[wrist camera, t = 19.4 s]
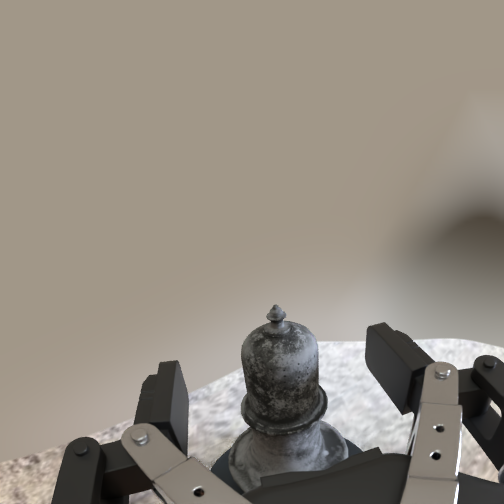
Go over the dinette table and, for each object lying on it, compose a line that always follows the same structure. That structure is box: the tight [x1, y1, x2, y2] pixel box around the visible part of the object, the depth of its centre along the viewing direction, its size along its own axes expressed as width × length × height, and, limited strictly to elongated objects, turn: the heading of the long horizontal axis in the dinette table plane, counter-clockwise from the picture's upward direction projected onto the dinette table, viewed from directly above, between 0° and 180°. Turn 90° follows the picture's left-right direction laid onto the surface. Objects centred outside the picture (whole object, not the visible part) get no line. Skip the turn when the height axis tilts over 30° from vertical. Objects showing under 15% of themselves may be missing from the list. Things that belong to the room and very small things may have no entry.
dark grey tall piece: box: [229, 305, 348, 493], centre depth 13 cm, size 6×6×12 cm
